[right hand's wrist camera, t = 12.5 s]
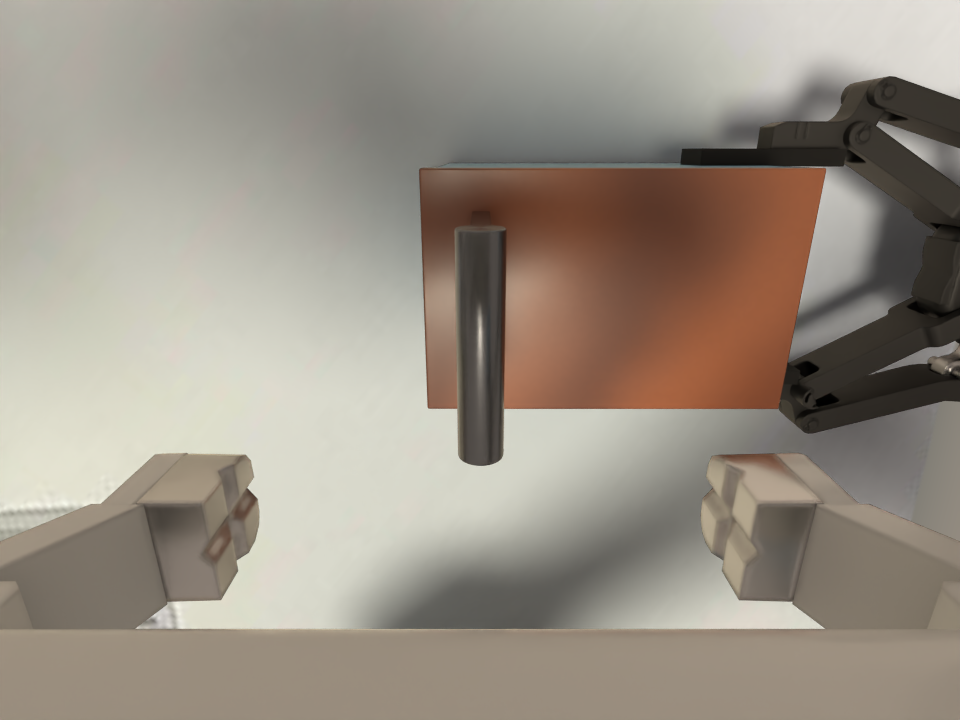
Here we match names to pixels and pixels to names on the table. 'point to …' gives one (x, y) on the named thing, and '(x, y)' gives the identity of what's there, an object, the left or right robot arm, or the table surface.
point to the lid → (609, 289)
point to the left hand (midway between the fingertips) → (676, 269)
